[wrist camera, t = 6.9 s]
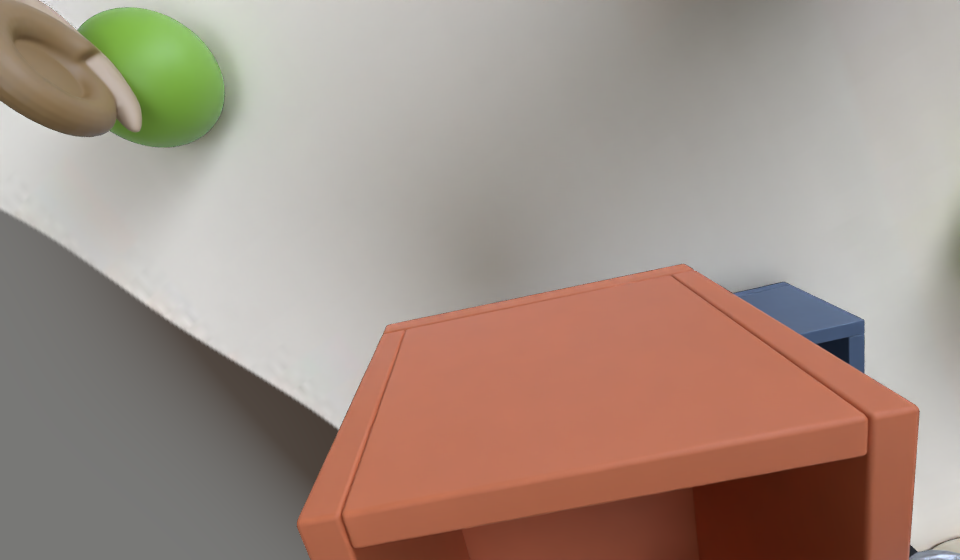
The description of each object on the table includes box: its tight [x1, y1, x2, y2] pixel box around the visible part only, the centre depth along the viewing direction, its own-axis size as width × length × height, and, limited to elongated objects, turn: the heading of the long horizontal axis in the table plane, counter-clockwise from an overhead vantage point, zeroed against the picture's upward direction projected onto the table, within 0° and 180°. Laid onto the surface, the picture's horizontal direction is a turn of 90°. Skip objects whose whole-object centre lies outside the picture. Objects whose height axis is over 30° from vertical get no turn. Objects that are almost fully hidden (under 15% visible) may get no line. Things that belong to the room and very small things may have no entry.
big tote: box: [733, 282, 864, 373], centre depth 26 cm, size 13×15×6 cm
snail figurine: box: [0, 0, 225, 147], centre depth 17 cm, size 5×6×12 cm
